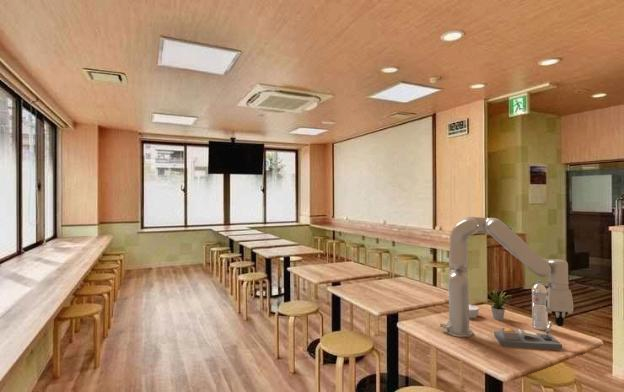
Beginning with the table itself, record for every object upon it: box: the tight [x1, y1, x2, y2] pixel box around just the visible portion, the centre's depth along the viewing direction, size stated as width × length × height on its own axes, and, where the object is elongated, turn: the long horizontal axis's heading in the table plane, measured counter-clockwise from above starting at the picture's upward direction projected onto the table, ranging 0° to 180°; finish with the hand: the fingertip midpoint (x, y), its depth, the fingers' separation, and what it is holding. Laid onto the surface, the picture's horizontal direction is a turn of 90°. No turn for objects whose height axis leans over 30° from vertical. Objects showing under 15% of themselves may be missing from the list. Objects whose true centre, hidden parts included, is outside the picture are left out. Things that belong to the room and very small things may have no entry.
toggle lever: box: [543, 320, 554, 336], centre depth 165 cm, size 2×2×8 cm
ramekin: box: [469, 303, 480, 319], centre depth 205 cm, size 11×11×5 cm
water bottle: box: [531, 280, 549, 331], centre depth 184 cm, size 7×7×25 cm
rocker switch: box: [517, 328, 538, 338], centre depth 167 cm, size 7×4×1 cm, turn 78°
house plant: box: [485, 289, 511, 321], centre depth 198 cm, size 14×14×16 cm
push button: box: [504, 327, 514, 333], centre depth 169 cm, size 4×4×3 cm
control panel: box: [493, 327, 563, 351], centre depth 167 cm, size 25×12×6 cm, turn 78°
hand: (559, 325), depth 164 cm, fingers closed
